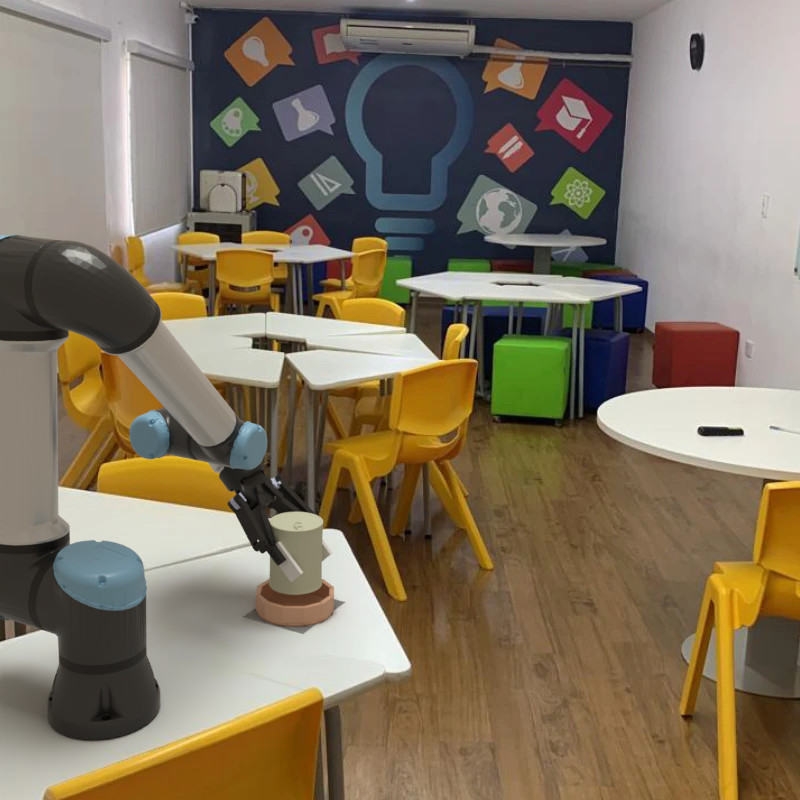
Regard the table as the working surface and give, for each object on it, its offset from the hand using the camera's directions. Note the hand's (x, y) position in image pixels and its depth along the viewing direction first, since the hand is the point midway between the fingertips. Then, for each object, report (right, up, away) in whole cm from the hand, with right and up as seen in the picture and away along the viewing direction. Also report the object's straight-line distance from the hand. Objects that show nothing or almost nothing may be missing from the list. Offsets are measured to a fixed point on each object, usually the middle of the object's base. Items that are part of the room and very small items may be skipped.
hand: (312, 567), depth 166 cm
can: (-3, -3, +2) cm, 5 cm away
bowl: (-3, -8, +3) cm, 9 cm away
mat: (-3, -8, +3) cm, 9 cm away
